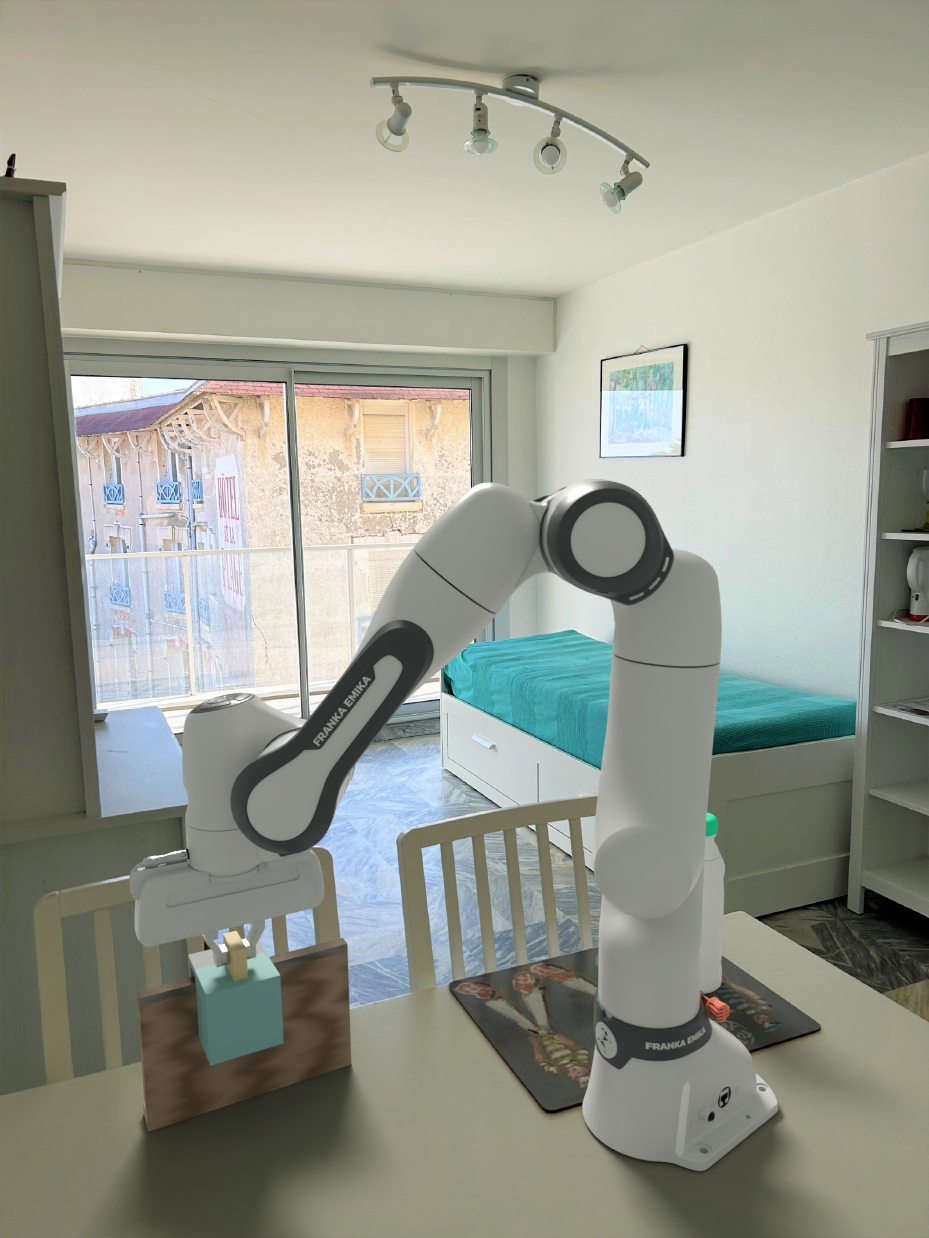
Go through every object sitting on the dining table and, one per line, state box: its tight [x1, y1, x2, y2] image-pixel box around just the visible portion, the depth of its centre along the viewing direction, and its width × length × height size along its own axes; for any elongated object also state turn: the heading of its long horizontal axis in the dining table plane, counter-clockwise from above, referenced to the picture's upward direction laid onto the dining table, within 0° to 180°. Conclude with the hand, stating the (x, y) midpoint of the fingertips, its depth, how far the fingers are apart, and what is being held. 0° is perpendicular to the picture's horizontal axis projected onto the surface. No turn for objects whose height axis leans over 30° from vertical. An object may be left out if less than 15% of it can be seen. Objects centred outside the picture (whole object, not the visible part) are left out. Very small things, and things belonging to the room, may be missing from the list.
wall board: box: [136, 937, 352, 1133], centre depth 104 cm, size 24×3×16 cm, turn 118°
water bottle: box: [700, 812, 726, 995], centre depth 124 cm, size 7×7×25 cm
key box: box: [187, 930, 284, 1066], centre depth 99 cm, size 8×10×12 cm
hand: (235, 960), depth 98 cm, fingers closed on key box
